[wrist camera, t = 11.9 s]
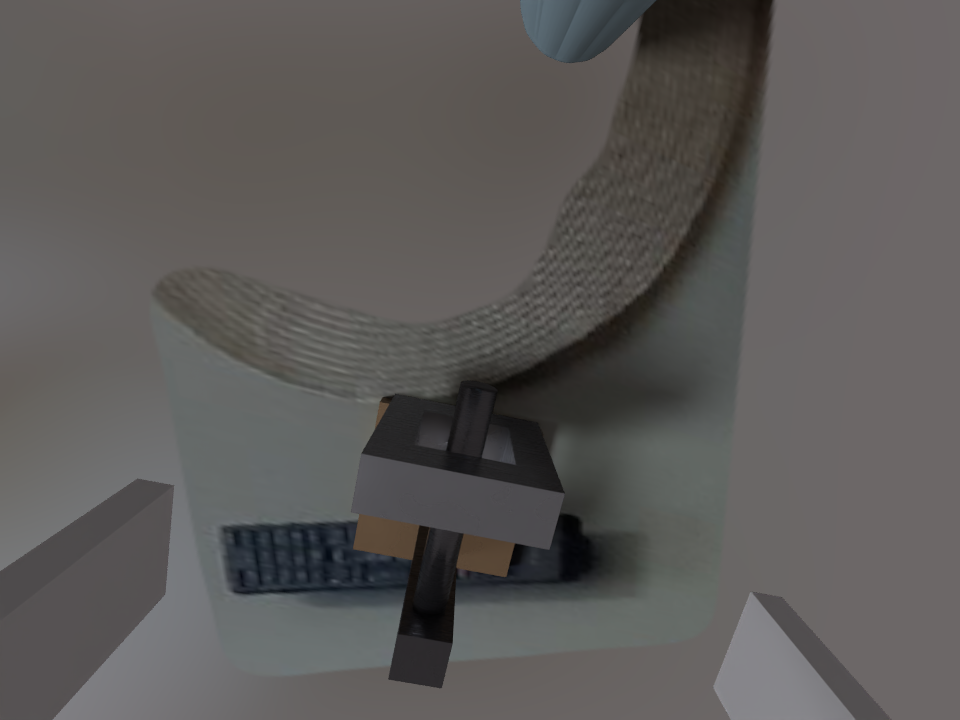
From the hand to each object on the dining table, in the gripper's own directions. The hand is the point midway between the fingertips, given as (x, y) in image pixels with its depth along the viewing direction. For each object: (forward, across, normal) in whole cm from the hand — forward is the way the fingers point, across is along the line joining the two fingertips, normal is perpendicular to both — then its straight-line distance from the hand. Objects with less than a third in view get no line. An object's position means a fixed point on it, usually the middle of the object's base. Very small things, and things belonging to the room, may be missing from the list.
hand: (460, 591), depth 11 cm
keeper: (+19, 0, -5) cm, 19 cm away
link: (+16, 0, -2) cm, 16 cm away
